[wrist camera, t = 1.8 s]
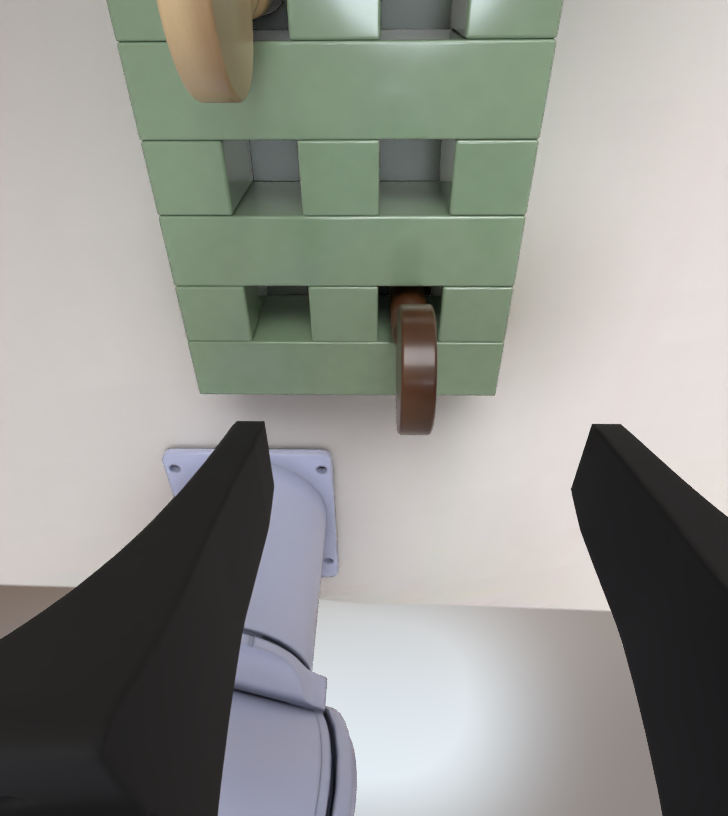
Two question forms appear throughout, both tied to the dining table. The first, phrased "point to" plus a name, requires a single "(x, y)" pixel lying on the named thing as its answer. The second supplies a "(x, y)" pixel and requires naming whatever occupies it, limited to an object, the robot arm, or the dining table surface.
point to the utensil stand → (345, 190)
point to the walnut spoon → (414, 359)
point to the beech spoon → (213, 44)
